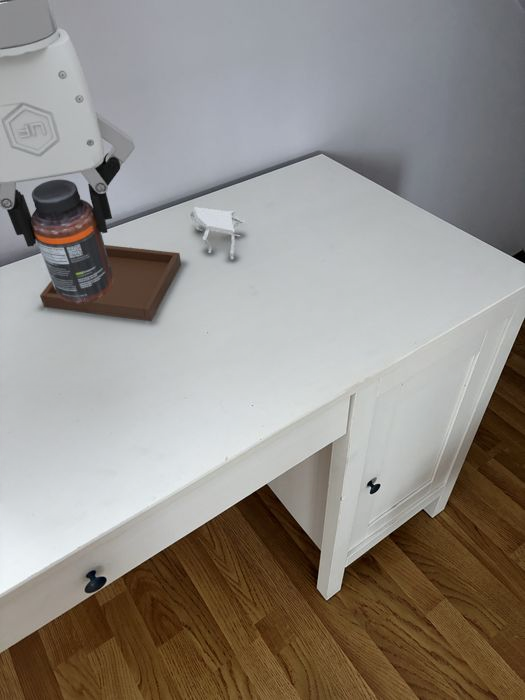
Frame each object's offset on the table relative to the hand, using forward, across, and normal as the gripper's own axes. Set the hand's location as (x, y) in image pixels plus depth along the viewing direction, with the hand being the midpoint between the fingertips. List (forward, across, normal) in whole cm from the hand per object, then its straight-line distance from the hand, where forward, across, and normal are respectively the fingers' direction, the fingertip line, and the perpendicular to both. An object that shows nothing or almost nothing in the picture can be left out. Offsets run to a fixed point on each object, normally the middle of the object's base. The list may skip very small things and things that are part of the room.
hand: (67, 230), depth 54 cm
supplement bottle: (+7, 0, 0) cm, 7 cm away
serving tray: (+24, +2, +22) cm, 32 cm away
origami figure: (+24, +19, +28) cm, 42 cm away
